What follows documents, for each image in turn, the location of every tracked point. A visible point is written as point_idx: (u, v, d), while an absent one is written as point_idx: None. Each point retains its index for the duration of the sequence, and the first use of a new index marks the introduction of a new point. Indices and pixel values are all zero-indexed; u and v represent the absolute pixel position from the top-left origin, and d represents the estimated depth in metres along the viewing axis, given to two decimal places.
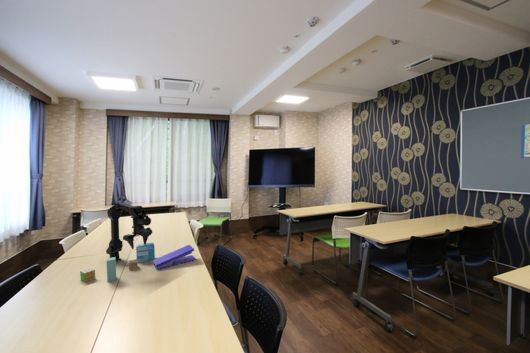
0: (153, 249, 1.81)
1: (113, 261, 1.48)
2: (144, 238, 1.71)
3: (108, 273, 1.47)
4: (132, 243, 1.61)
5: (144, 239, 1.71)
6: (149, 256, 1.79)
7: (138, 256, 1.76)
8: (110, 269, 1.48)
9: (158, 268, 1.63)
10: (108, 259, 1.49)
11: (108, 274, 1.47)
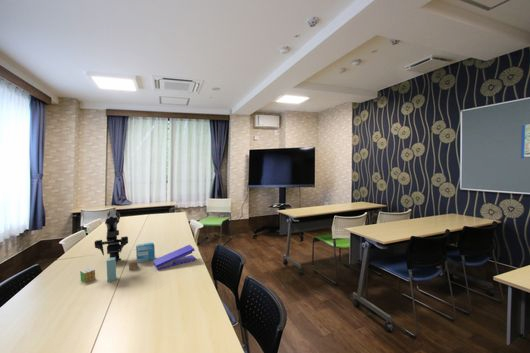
0: (153, 249, 1.81)
1: (113, 261, 1.48)
2: (120, 246, 1.62)
3: (108, 273, 1.47)
4: (101, 248, 1.55)
5: (120, 247, 1.61)
6: (149, 256, 1.79)
7: (138, 256, 1.76)
8: (110, 269, 1.48)
9: (158, 268, 1.64)
10: (108, 259, 1.49)
11: (108, 274, 1.47)
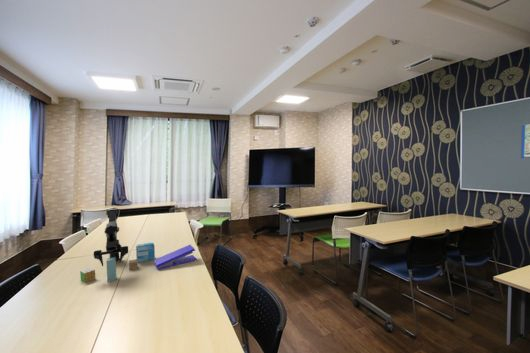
0: (153, 249, 1.81)
1: (113, 261, 1.48)
2: (120, 256, 1.56)
3: (108, 273, 1.47)
4: (100, 259, 1.50)
5: (120, 257, 1.56)
6: (149, 256, 1.79)
7: (138, 256, 1.76)
8: (110, 269, 1.48)
9: (159, 268, 1.64)
10: (108, 259, 1.49)
11: (108, 274, 1.47)
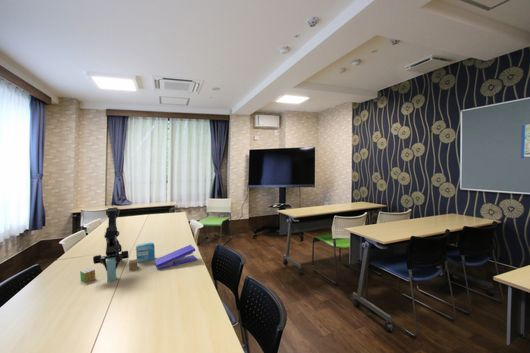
0: (153, 249, 1.81)
1: (113, 261, 1.48)
2: (116, 262, 1.53)
3: (108, 273, 1.47)
4: (104, 263, 1.49)
5: (116, 263, 1.52)
6: (149, 256, 1.79)
7: (138, 256, 1.76)
8: (110, 269, 1.48)
9: (159, 268, 1.64)
10: (108, 259, 1.49)
11: (108, 274, 1.47)
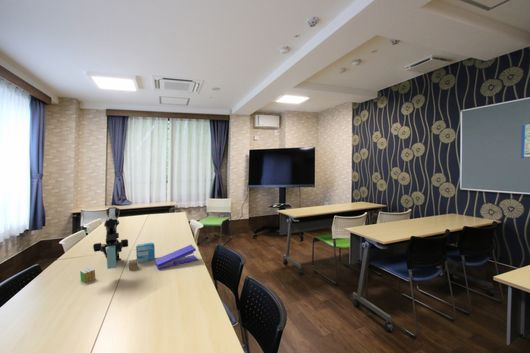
0: (153, 249, 1.81)
1: (113, 249, 1.50)
2: (116, 250, 1.55)
3: (108, 260, 1.49)
4: (104, 251, 1.50)
5: (116, 251, 1.54)
6: (149, 256, 1.79)
7: (138, 256, 1.76)
8: (110, 256, 1.50)
9: (159, 268, 1.64)
10: (108, 247, 1.50)
11: (108, 261, 1.49)
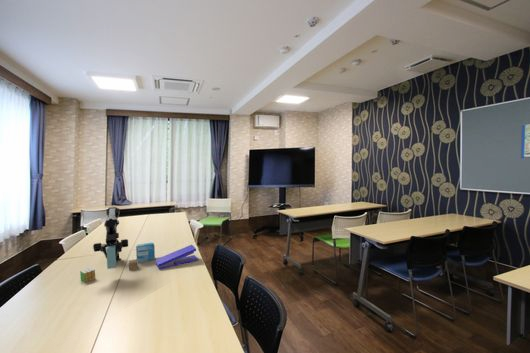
0: (153, 249, 1.81)
1: (113, 249, 1.50)
2: (116, 250, 1.55)
3: (108, 260, 1.49)
4: (104, 251, 1.50)
5: (116, 251, 1.54)
6: (149, 256, 1.79)
7: (138, 256, 1.76)
8: (110, 256, 1.50)
9: (160, 267, 1.64)
10: (108, 247, 1.50)
11: (108, 261, 1.49)
